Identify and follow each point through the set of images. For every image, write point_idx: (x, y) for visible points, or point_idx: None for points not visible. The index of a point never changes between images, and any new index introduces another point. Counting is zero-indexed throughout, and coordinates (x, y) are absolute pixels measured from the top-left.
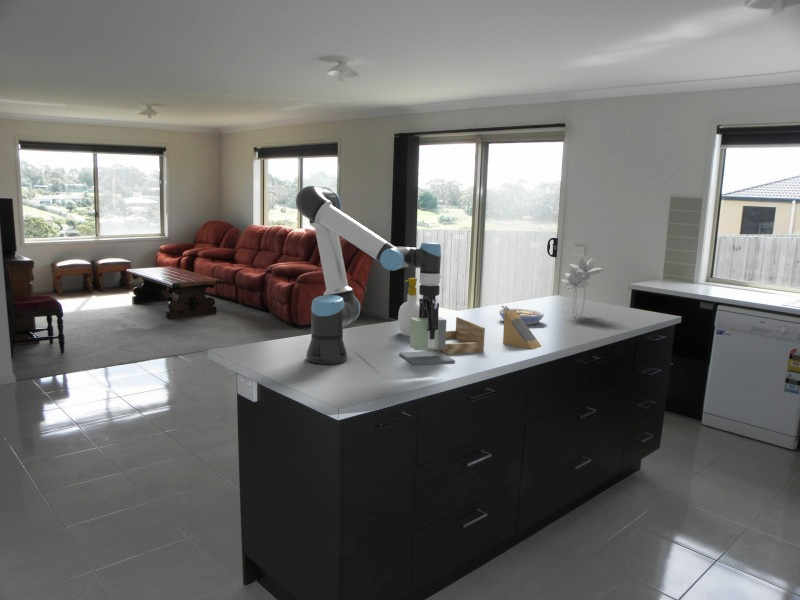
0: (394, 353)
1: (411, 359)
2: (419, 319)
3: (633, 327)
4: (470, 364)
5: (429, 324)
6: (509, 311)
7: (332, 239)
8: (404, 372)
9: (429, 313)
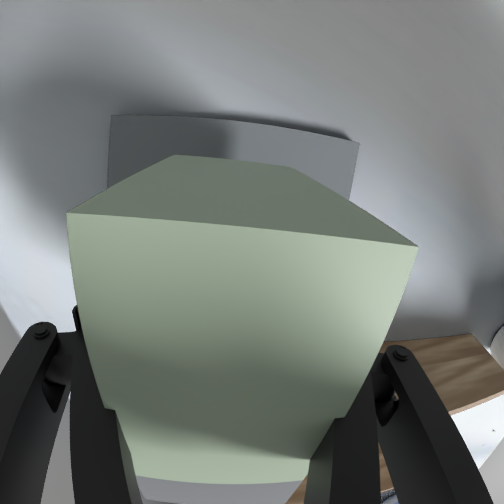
0: (390, 139)
1: (178, 124)
2: (209, 342)
3: None
4: None
5: (80, 364)
6: None
7: None
8: (36, 39)
9: (80, 500)
